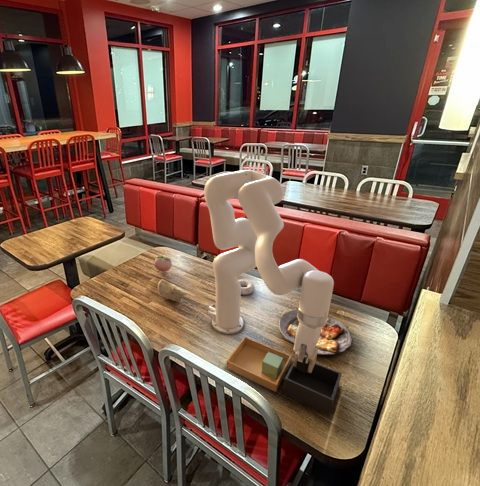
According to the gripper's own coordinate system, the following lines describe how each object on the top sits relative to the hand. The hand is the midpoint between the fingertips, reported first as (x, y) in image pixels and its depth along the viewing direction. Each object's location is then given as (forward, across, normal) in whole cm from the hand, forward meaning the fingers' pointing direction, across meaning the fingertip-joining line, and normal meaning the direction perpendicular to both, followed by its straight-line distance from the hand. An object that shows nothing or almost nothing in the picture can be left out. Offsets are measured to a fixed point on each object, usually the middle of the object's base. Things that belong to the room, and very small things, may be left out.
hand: (304, 363), depth 92 cm
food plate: (+10, -26, -3) cm, 28 cm away
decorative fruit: (+10, -33, -81) cm, 88 cm away
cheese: (+10, -17, -61) cm, 64 cm away
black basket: (+10, 0, +3) cm, 10 cm away
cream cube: (0, 0, 0) cm, 0 cm away
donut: (+10, -39, -38) cm, 55 cm away
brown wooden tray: (+10, -1, -14) cm, 17 cm away
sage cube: (+9, -1, -10) cm, 13 cm away
